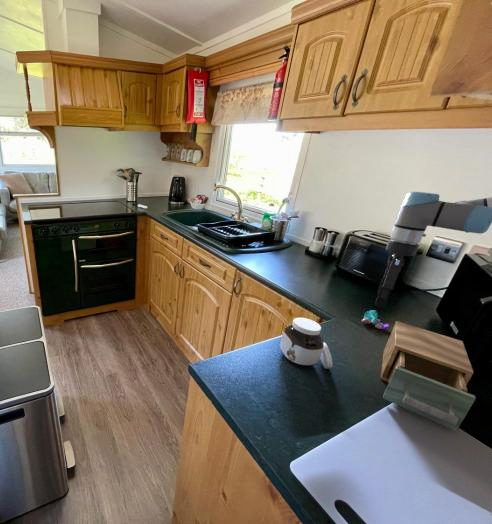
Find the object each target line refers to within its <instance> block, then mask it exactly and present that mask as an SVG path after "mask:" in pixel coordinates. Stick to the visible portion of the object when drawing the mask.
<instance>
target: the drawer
mask: <svg viewBox="0 0 492 524" xmlns="http://www.w3.org/2000/svg"><path fill="white" fill-rule="evenodd" d="M382 399H384V400H386V401H388V402H391V403H393V404H394V405H397V406H400V407H402V408H404V409H406V410H408V411H411V412H414V413H415V414H417V415H420V416H421V417H424V418H427V419H429V420H431V421H434V422H436V423H438V424H440V425H442V426H445V427H447V428H449V429H452V430H454V431H455V432H456V431H458V429H459V428H460V427H461V424H462V423H463V421H464V420H465V418H466V416H467V414H468V412H469V411H470V409H471V407H472V406H473V404H474V402H475V401H476V395H474V394H472V393H469V392H468V387H467V385H466V384H465V381H464V377H463V374H462V372H461V371H458V370H455V369H452V368H449V367H446V366H443V365H441V364H438V363H435V362H432V361H429V360H426V359H423V358H421V357H418V356H415V355H412V354H409V353H406V352H403V351H401V350H398V352H397V354H396V357H395V359H394V361H393V363H392V366H391V368H390V370H389V382H388V384H387V386H386V388H385V390H384V392H383V395H382Z"/></svg>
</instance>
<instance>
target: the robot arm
mask: <svg viewBox="0 0 492 524" xmlns="http://www.w3.org/2000/svg"><path fill="white" fill-rule="evenodd" d="M491 225H492V196H489V197H484V198H477V199H471V200H460V201H455V202H451V201H450V202H449V201H443V200H440V194H438V193H433V192H425V191H410V192H408V193H407V194H406V195H405V198H404V200H403V202H402V205H400V209H399V212H398V215H397V217H396V220H395V223H394V225H393V227H392V230H391V232H390V235H389V238H390V239H389V240H388V241H387V243H386V246H385V251H386V252H389V253H391V254H392V255H389V257H388V260H387V264H386V265H387V267H386V268H385V270H384V275H383V277H382V279H381V282H380V284H379V286H378V290H377V292H376V293H377V294H378V295H377V298H376V300H375V303H374V306H375V307H379V308H382V309H386V307H387V304H388V302H389V299H390V297H391V294H392V291H394V288H395V284H396V282H397V279H398V276H399V274H400V272H401V271H402V269H403V268H402V267H403V266H404V265H405V262H406V260H405V259H406V258H404V257H406V256H407V257H414V256H415V255H416V254H417V251H418V249H419V247H420V245H419V244H420V243H421V242H422V239H423V238H426V237H427V234H426V233H425V231H426V230H427V227H433V228H435V227H436V228H439V229H441V228H442V229H447V230H451V231H452V230H453V231H459V232H463V233H467V234H469V233H471V234H479V235H481V234H485V233H487V232H488V230H489V228H490V227H491Z"/></svg>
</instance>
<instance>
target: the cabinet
mask: <svg viewBox="0 0 492 524" xmlns="http://www.w3.org/2000/svg"><path fill="white" fill-rule="evenodd" d="M388 337H389V338H388V340H387V342H386V345H385V346H384V349H383V352H382V362H381V370H380V380H382V381H383V382H386V383H389V370H390V368H391V366H392V363H393V361H394V359H395V357H396V354H397V352H398V350H401V351H403V352H406V353H409V354H412V355H415V356H418V357H421V358H423V359H426V360H429V361H432V362H435V363H438V364H441V365H443V366H446V367H449V368H452V369H455V370H458V371H461V372H462V374H463V377H464V381H465V384H466V386H467V385H468V383H469V381H470V379H471V378H472V376H473V374H474V369H473V366H472V364H471V361H470V359H469V356H468V353H467V350H466V347H465V344H464V341H463V340H460V339H456V338H453V337H450V336H447V335H443V334H440V333H437V332H434V331H430V330H427V329H424V328H422V327H421V328H420V327H417V326H414V325H410V324H407V323H405V322H401V321H399V320H397V321H395V323H394V325H393V327H392V330H391V333H390V334H389V336H388Z"/></svg>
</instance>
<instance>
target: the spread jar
mask: <svg viewBox="0 0 492 524" xmlns="http://www.w3.org/2000/svg"><path fill="white" fill-rule="evenodd" d="M321 331H322V326H321V324H319V323H318V322H316V321H315V320H313V319H310V318H306V317H295V318H293V320H292V324H290V325H287V326H286V327H285V328H284V329H283V331H282V335H281V337H280V342H279V343H280V344H279V347H280V352H281V354H282V356H283V358H284V359H285V360H286V361H287V362H288V363H290V364H292V365H294V366H297V367H300V368H307V367H312V366H314V365H315V366H316V365H317V364H318V363H319V361H320V363H321V365H322V366H323V368H324V369H325V370H326V369H333V366H334V365H333V358H332V354H331V352H330V351H331V350H330V348H329V346H328V345H327V343H326V342H324V339H323V337H322V335H321Z"/></svg>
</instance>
